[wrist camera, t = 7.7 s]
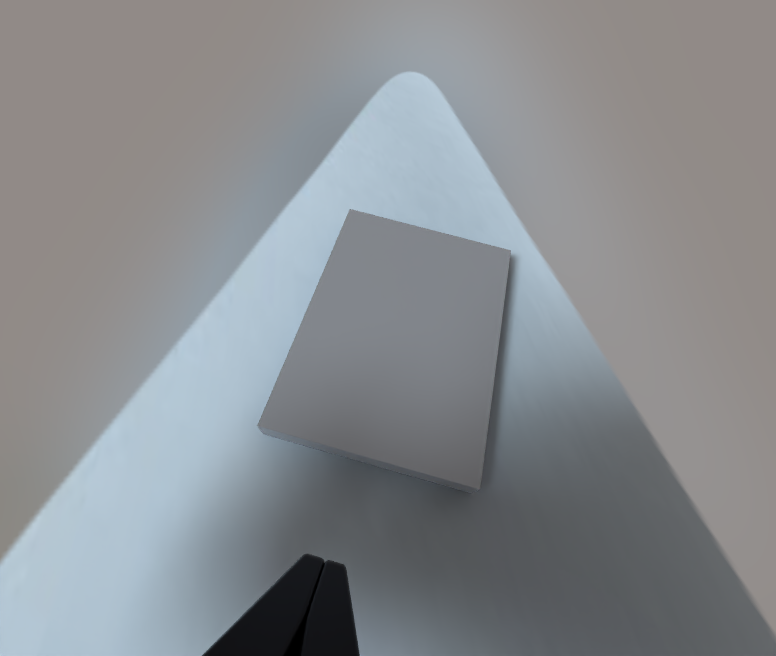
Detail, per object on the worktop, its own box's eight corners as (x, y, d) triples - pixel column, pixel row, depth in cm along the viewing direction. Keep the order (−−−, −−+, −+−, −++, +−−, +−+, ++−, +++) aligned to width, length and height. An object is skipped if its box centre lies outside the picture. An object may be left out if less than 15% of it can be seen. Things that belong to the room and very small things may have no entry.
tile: (480, 489, 13) (510, 250, 19) (257, 426, 14) (350, 209, 19) (467, 494, 15) (499, 270, 20) (265, 436, 15) (349, 231, 20)
